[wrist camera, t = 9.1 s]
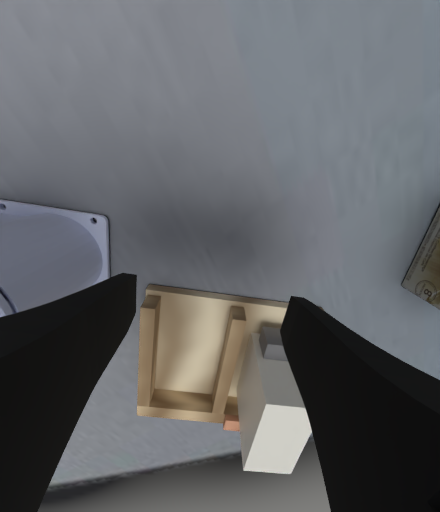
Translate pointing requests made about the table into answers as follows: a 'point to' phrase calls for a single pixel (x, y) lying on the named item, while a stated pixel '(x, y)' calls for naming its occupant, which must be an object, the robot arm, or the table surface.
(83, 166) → the table surface
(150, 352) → the slot rack
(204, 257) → the table surface
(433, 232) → the coffee box
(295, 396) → the plug block
